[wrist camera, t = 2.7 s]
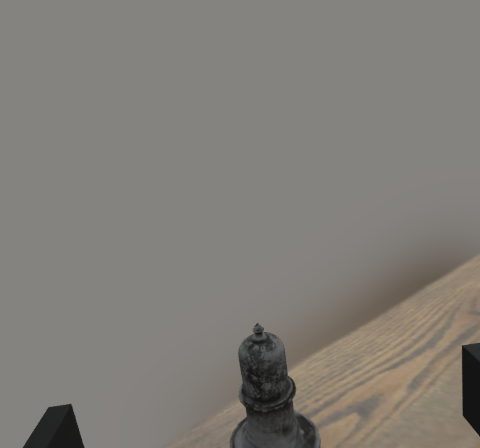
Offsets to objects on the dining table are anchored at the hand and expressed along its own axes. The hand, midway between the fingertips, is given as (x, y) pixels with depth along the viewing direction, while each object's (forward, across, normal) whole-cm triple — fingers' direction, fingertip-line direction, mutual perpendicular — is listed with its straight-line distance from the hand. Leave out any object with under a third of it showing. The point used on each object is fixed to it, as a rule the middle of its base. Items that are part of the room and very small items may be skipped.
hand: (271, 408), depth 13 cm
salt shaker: (+10, 0, -14) cm, 17 cm away
